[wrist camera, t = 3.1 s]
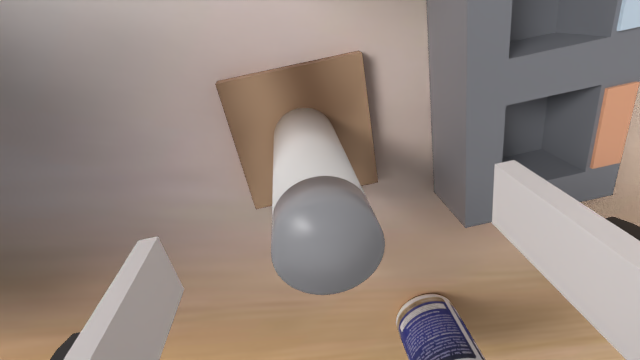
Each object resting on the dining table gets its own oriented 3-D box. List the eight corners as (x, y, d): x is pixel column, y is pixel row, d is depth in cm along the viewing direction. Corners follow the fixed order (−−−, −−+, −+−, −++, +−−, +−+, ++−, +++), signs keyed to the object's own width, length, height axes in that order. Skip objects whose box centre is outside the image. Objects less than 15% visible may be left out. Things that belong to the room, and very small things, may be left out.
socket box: (434, 191, 27) (466, 229, 22) (423, -91, 19) (470, -124, 14) (559, 163, 27) (618, 195, 23) (603, -129, 19) (709, -174, 14)
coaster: (256, 202, 26) (255, 209, 25) (217, 81, 22) (215, 84, 21) (374, 176, 26) (378, 182, 25) (358, 50, 22) (361, 52, 21)
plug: (281, 170, 24) (286, 304, 13) (266, 115, 22) (257, 217, 11) (338, 158, 24) (389, 281, 13) (328, 101, 22) (378, 190, 11)
